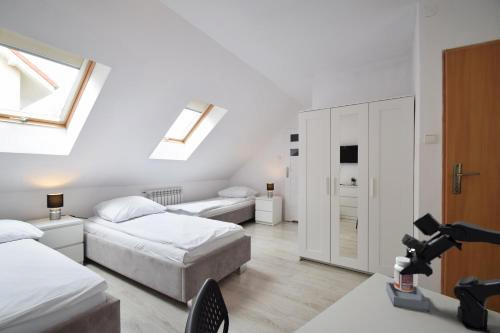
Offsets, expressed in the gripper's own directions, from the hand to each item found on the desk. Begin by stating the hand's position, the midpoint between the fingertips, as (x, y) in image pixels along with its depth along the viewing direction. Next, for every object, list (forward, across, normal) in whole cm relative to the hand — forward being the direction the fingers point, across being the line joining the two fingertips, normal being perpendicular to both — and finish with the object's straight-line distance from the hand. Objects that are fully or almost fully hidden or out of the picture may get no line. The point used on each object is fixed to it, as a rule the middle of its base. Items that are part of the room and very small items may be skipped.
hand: (399, 270), depth 92 cm
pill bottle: (+4, 0, +6) cm, 7 cm away
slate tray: (+7, -2, +10) cm, 13 cm away
